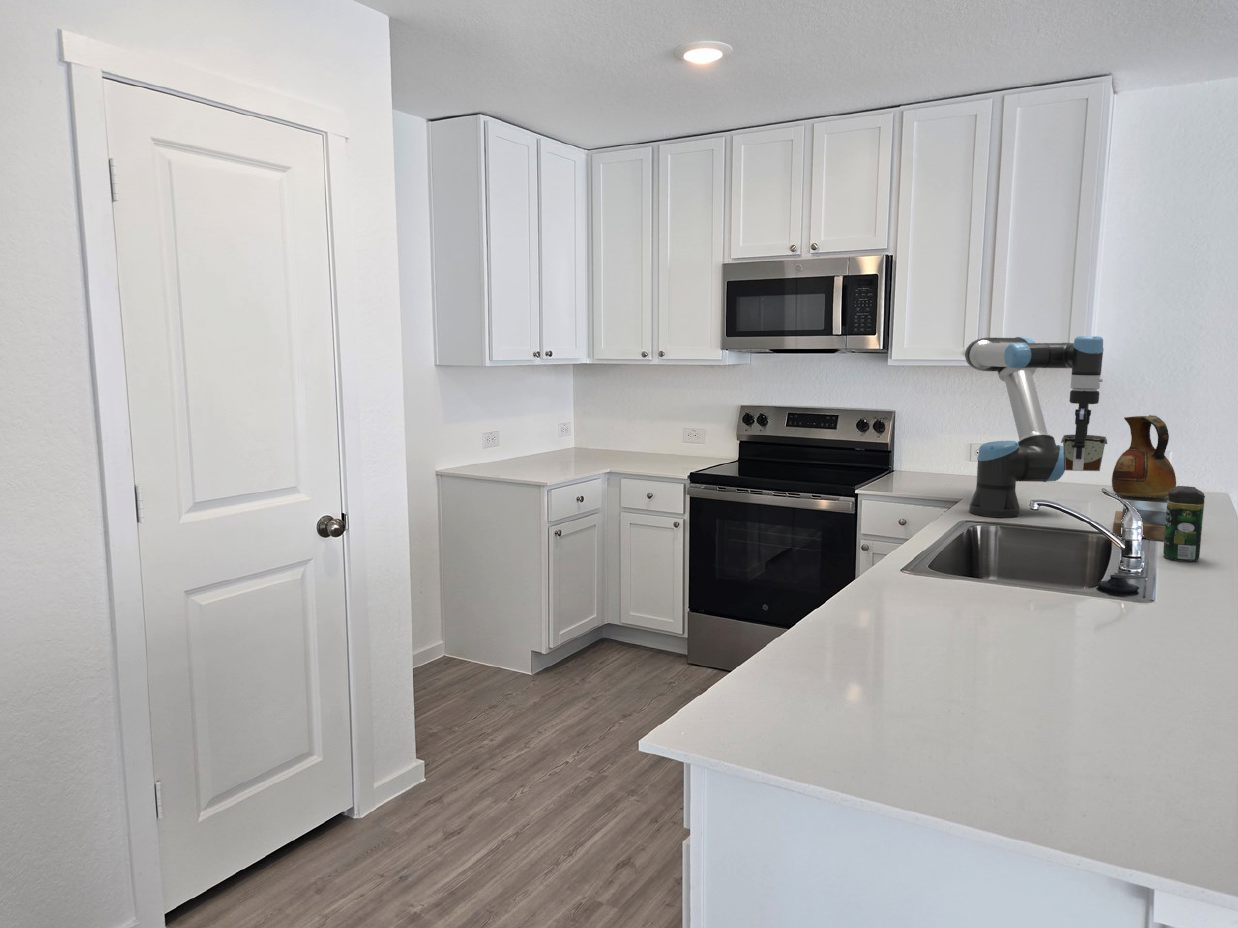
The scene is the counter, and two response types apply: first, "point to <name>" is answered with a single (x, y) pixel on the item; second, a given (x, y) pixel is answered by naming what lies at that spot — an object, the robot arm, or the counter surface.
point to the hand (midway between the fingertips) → (1078, 468)
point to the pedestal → (1145, 518)
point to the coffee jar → (1183, 523)
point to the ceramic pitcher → (1144, 461)
